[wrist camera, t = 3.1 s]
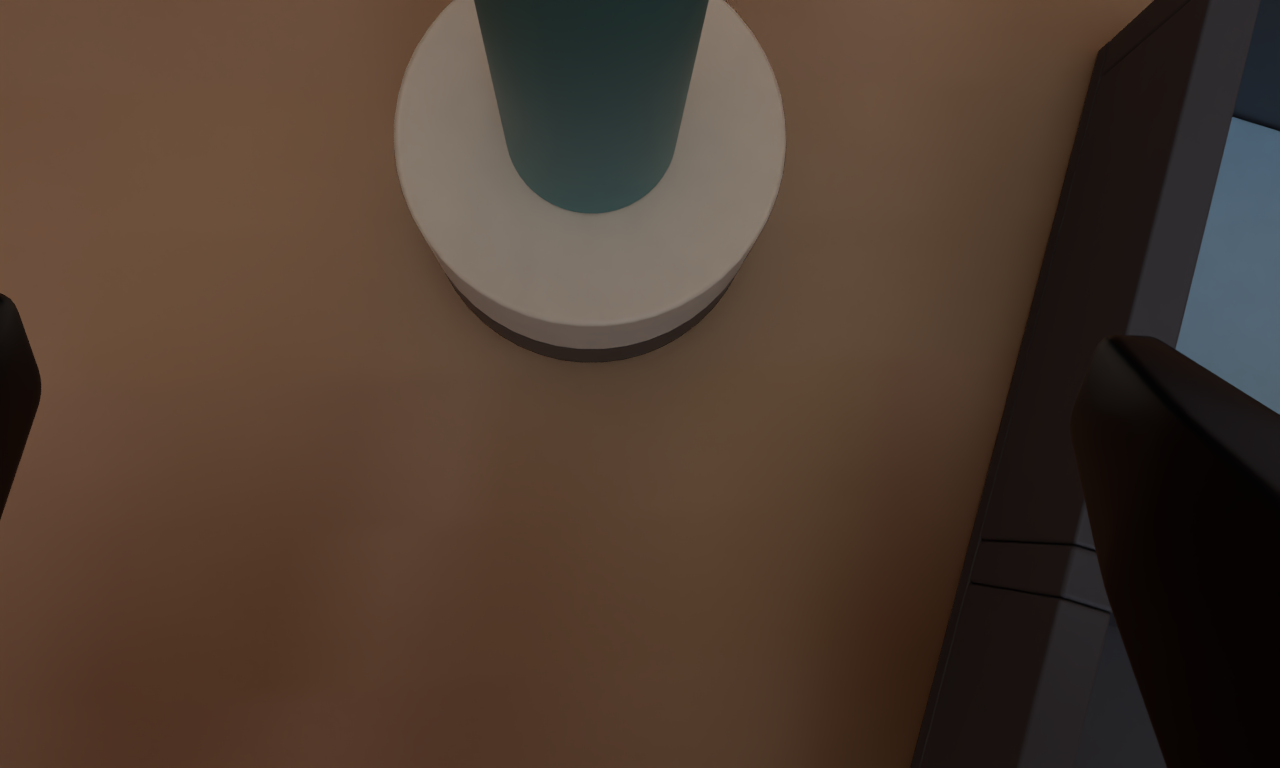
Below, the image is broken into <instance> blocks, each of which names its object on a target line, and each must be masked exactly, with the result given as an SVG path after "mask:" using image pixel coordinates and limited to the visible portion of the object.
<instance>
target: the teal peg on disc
mask: <svg viewBox="0 0 1280 768" xmlns="http://www.w3.org/2000/svg"><path fill="white" fill-rule="evenodd" d="M394 152H395V161H396V169H397V173H398V177H399V181H400V185H401V189H402V193H403V196H404V198H405V200H406V203H407V205H408V208H409V210H410V213H411V215H412V218H413V219H414V221H415V223H416V224H417V226H418V228H419V230H420V231H421V233H422V235H423V237H424V238H425V240H426V242H427V243H428V245H429V247H430V248H431V250H432V252H433V254H434V255H435V257H436V259H437V260H438V262H439V264H440V265H441V267H442V269H443V270H444V272H445V274H446V275H447V277H448V279H449V281H450V282H451V284H452V286H453V287H454V289H455V291H456V292H457V293H458V295H459V296H460V297H461V298H462V300H463V301H464V302H465V304H466V305H467V306H468V307H469V308H470V309H471V310H472V311H473V312H474V313H475V314H476V315H477V316H478V317H479V318H480V319H481V320H482V321H483V322H484V323H485V324H486V325H488V326H489V327H490V328H492V329H493V330H494V331H496V332H497V333H498V334H500V335H501V336H503V337H504V338H506V339H508V340H510V341H511V342H513V343H515V344H517V345H518V346H521V347H523V348H526V349H528V350H531V351H533V352H535V353H538V354H541V355H545V356H549V357H552V358H556V359H561V360H568V361H576V362H607V361H615V360H622V359H627V358H630V357H634V356H638V355H642V354H645V353H647V352H650V351H652V350H655V349H657V348H660V347H662V346H664V345H666V344H668V343H669V342H671V341H673V340H675V339H676V338H678V337H680V336H682V335H683V334H684V333H686V332H687V331H688V330H690V329H691V328H692V327H693V326H695V325H696V324H697V323H699V322H700V321H701V320H702V319H703V318H704V317H705V316H706V315H707V314H708V313H709V312H710V311H711V310H712V309H713V308H714V306H715V305H716V304H717V302H718V301H719V300H720V298H721V297H722V296H723V295H724V293H725V292H726V290H727V289H728V287H729V285H730V284H731V282H732V280H733V279H734V277H735V275H736V274H737V272H738V270H739V268H740V267H741V265H742V263H743V262H744V260H745V258H746V257H747V255H748V253H749V252H750V250H751V248H752V246H753V245H754V243H755V241H756V240H757V238H758V236H759V234H760V233H761V231H762V229H763V227H764V226H765V224H766V222H767V220H768V218H769V216H770V213H771V211H772V208H773V206H774V203H775V201H776V198H777V196H778V192H779V188H780V184H781V180H782V176H783V172H784V163H785V154H786V122H785V115H784V109H783V103H782V97H781V94H780V91H779V87H778V84H777V81H776V77H775V74H774V72H773V70H772V67H771V65H770V63H769V61H768V59H767V56H766V54H765V52H764V50H763V49H762V47H761V46H760V44H759V42H758V41H757V39H756V37H755V36H754V34H753V33H752V31H751V30H750V29H749V27H748V26H747V25H746V24H745V22H744V21H743V20H742V19H741V17H740V16H739V15H738V14H737V12H736V11H735V10H734V9H733V8H731V7H730V6H729V5H728V4H727V3H726V2H725V1H724V0H453V1H452V2H451V3H450V4H449V5H448V6H447V7H445V8H444V10H443V11H442V12H441V13H440V14H439V16H438V17H437V18H436V19H435V20H434V22H433V23H432V24H431V25H430V26H429V28H428V29H427V31H426V33H425V34H424V36H423V37H422V39H421V40H420V42H419V44H418V45H417V47H416V48H415V51H414V53H413V55H412V57H411V59H410V62H409V64H408V66H407V68H406V70H405V73H404V77H403V80H402V83H401V87H400V90H399V93H398V98H397V104H396V111H395V117H394Z"/></svg>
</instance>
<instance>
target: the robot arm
mask: <svg viewBox="0 0 1280 768" xmlns="http://www.w3.org/2000/svg"><path fill="white" fill-rule="evenodd" d="M40 396H41V378H40V373H39V369H38V367H37V364H36V361H35V358H34V355H33V352H32V349H31V347H30V344H29V341H28V338H27V335H26V332H25V329H24V327H23V324H22V321H21V318H20V315H19V312H18V310H17V308H16V306H15V304H14V303H13V302H12V300H11V299H10V298H8V297H7V296H5V295H3V294H1V293H0V519H1V516H2V513H3V510H4V507H5V504H6V501H7V498H8V495H9V492H10V489H11V486H12V483H13V480H14V477H15V474H16V471H17V468H18V465H19V462H20V459H21V456H22V453H23V450H24V447H25V444H26V441H27V438H28V435H29V432H30V429H31V426H32V423H33V420H34V417H35V415H36V412H37V409H38V405H39V402H40ZM1070 431H1071V439H1072V444H1073V449H1074V453H1075V458H1076V463H1077V467H1078V472H1079V477H1080V481H1081V486H1082V490H1083V495H1084V500H1085V504H1086V509H1087V513H1088V518H1089V523H1090V527H1091V532H1092V536H1093V541H1094V546H1095V550H1096V555H1097V559H1098V564H1099V568H1100V572H1101V576H1102V580H1103V584H1104V588H1105V591H1106V594H1107V597H1108V600H1109V603H1110V606H1111V609H1112V613H1113V615H1114V618H1115V621H1116V624H1117V627H1118V630H1119V633H1120V635H1121V638H1122V641H1123V644H1124V647H1125V650H1126V653H1127V655H1128V658H1129V661H1130V664H1131V667H1132V670H1133V673H1134V676H1135V678H1136V681H1137V684H1138V687H1139V690H1140V693H1141V696H1142V698H1143V701H1144V704H1145V707H1146V710H1147V713H1148V716H1149V718H1150V721H1151V724H1152V727H1153V730H1154V733H1155V736H1156V738H1157V741H1158V744H1159V747H1160V750H1161V753H1162V756H1163V758H1164V761H1165V764H1166V767H1167V768H1280V414H1278V413H1276V412H1275V411H1273V410H1272V409H1270V408H1268V407H1267V406H1265V405H1264V404H1262V403H1260V402H1259V401H1257V400H1256V399H1254V398H1252V397H1251V396H1249V395H1248V394H1246V393H1244V392H1243V391H1241V390H1240V389H1238V388H1236V387H1235V386H1233V385H1232V384H1230V383H1228V382H1227V381H1225V380H1224V379H1222V378H1220V377H1219V376H1217V375H1216V374H1214V373H1212V372H1211V371H1209V370H1208V369H1206V368H1204V367H1203V366H1201V365H1200V364H1198V363H1197V362H1195V361H1193V360H1192V359H1190V358H1189V357H1187V356H1185V355H1184V354H1182V353H1181V352H1179V351H1177V350H1176V349H1174V348H1173V347H1171V346H1169V345H1168V344H1166V343H1165V342H1163V341H1161V340H1160V339H1158V338H1156V337H1152V336H1141V335H1109V336H1107V337H1105V338H1103V339H1102V340H1101V341H1100V342H1099V344H1098V345H1097V347H1096V349H1095V351H1094V353H1093V356H1092V358H1091V361H1090V364H1089V366H1088V369H1087V372H1086V374H1085V377H1084V380H1083V382H1082V385H1081V388H1080V391H1079V393H1078V396H1077V399H1076V401H1075V404H1074V407H1073V410H1072V415H1071V423H1070Z"/></svg>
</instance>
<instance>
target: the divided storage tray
mask: <svg viewBox="0 0 1280 768" xmlns="http://www.w3.org/2000/svg"><path fill="white" fill-rule="evenodd" d="M1109 335H1141V336H1152V337H1156V338H1158V339H1160V340H1161V341H1163V342H1165V343H1166V344H1168V345H1169V346H1171V347H1173V348H1174V349H1176V350H1177V351H1179V352H1181V353H1182V354H1184V355H1185V356H1187V357H1189V358H1190V359H1192V360H1193V361H1195V362H1197V363H1198V364H1200V365H1201V366H1203V367H1204V368H1206V369H1208V370H1209V371H1211V372H1212V373H1214V374H1216V375H1217V376H1219V377H1220V378H1222V379H1224V380H1225V381H1227V382H1228V383H1230V384H1232V385H1233V386H1235V387H1236V388H1238V389H1240V390H1241V391H1243V392H1244V393H1246V394H1248V395H1249V396H1251V397H1252V398H1254V399H1256V400H1257V401H1259V402H1260V403H1262V404H1264V405H1265V406H1267V407H1268V408H1270V409H1272V410H1273V411H1275V412H1276V413H1278V414H1280V0H1154V1H1153V2H1152V3H1151V4H1150V5H1149V6H1147V7H1146V8H1145V9H1144V10H1143V11H1142V12H1141V13H1140V14H1139V15H1138V16H1137V17H1136V18H1134V19H1133V20H1132V21H1131V22H1130V23H1129V24H1128V25H1127V26H1126V27H1125V28H1124V29H1123V30H1121V31H1120V32H1119V33H1118V34H1117V35H1116V36H1115V37H1114V38H1113V39H1112V40H1111V41H1110V42H1108V43H1107V44H1106V45H1105V46H1104V47H1103V48H1101V49H1100V50H1099V52H1098V55H1097V59H1096V63H1095V67H1094V71H1093V74H1092V78H1091V82H1090V86H1089V90H1088V93H1087V97H1086V101H1085V105H1084V109H1083V112H1082V116H1081V120H1080V124H1079V128H1078V132H1077V135H1076V139H1075V143H1074V147H1073V151H1072V154H1071V158H1070V162H1069V166H1068V170H1067V173H1066V177H1065V181H1064V185H1063V189H1062V193H1061V196H1060V200H1059V204H1058V208H1057V212H1056V215H1055V219H1054V223H1053V227H1052V231H1051V234H1050V238H1049V242H1048V246H1047V250H1046V254H1045V257H1044V261H1043V265H1042V269H1041V273H1040V276H1039V280H1038V284H1037V288H1036V292H1035V295H1034V299H1033V303H1032V307H1031V311H1030V315H1029V318H1028V322H1027V326H1026V330H1025V334H1024V337H1023V341H1022V345H1021V349H1020V353H1019V356H1018V360H1017V364H1016V368H1015V372H1014V375H1013V379H1012V383H1011V387H1010V391H1009V395H1008V398H1007V402H1006V406H1005V410H1004V414H1003V417H1002V421H1001V425H1000V429H999V433H998V436H997V440H996V444H995V448H994V452H993V456H992V459H991V463H990V467H989V471H988V475H987V478H986V482H985V486H984V490H983V494H982V497H981V501H980V505H979V509H978V513H977V517H976V520H975V524H974V528H973V532H972V536H971V539H970V543H969V547H968V551H967V555H966V558H965V562H964V566H963V570H962V574H961V578H960V581H959V585H958V589H957V593H956V597H955V600H954V604H953V608H952V612H951V616H950V619H949V623H948V627H947V631H946V635H945V639H944V642H943V646H942V650H941V654H940V658H939V661H938V665H937V669H936V673H935V677H934V680H933V684H932V688H931V692H930V696H929V700H928V703H927V707H926V711H925V715H924V719H923V722H922V726H921V730H920V734H919V738H918V741H917V745H916V749H915V753H914V757H913V761H912V764H911V768H1167V767H1166V764H1165V761H1164V758H1163V756H1162V753H1161V750H1160V747H1159V744H1158V741H1157V738H1156V736H1155V733H1154V730H1153V727H1152V724H1151V721H1150V718H1149V716H1148V713H1147V710H1146V707H1145V704H1144V701H1143V698H1142V696H1141V693H1140V690H1139V687H1138V684H1137V681H1136V678H1135V676H1134V673H1133V670H1132V667H1131V664H1130V661H1129V658H1128V655H1127V653H1126V650H1125V647H1124V644H1123V641H1122V638H1121V635H1120V633H1119V630H1118V627H1117V624H1116V621H1115V618H1114V615H1113V613H1112V609H1111V606H1110V603H1109V600H1108V597H1107V594H1106V591H1105V588H1104V584H1103V580H1102V576H1101V572H1100V568H1099V564H1098V559H1097V555H1096V550H1095V546H1094V541H1093V536H1092V532H1091V527H1090V523H1089V518H1088V513H1087V509H1086V504H1085V500H1084V495H1083V490H1082V486H1081V481H1080V477H1079V472H1078V467H1077V463H1076V458H1075V453H1074V449H1073V444H1072V439H1071V431H1070V423H1071V415H1072V410H1073V407H1074V404H1075V401H1076V399H1077V396H1078V393H1079V391H1080V388H1081V385H1082V382H1083V380H1084V377H1085V374H1086V372H1087V369H1088V366H1089V364H1090V361H1091V358H1092V356H1093V353H1094V351H1095V349H1096V347H1097V345H1098V344H1099V342H1100V341H1101V340H1102V339H1103V338H1105V337H1107V336H1109Z"/></svg>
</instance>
